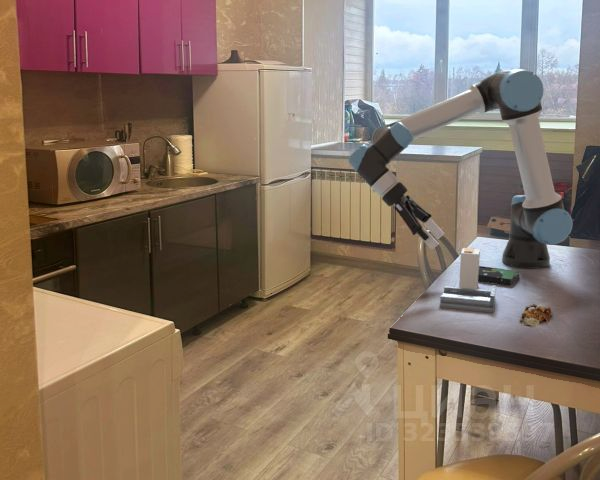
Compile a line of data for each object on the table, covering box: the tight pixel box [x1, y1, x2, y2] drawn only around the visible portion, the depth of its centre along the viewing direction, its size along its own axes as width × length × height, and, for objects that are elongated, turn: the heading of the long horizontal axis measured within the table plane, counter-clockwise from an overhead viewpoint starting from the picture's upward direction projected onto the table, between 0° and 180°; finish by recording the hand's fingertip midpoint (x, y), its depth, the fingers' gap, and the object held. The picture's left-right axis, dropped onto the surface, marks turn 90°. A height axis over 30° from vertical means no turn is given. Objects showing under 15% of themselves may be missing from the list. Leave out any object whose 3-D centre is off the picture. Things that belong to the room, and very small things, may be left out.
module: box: [458, 247, 481, 289], centre depth 193 cm, size 5×6×11 cm
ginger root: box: [519, 303, 553, 327], centre depth 168 cm, size 7×12×4 cm, turn 151°
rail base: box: [439, 285, 497, 314], centre depth 180 cm, size 14×12×4 cm
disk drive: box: [478, 265, 520, 287], centre depth 203 cm, size 10×3×15 cm
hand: (438, 241), depth 194 cm, fingers open, 13 cm apart
